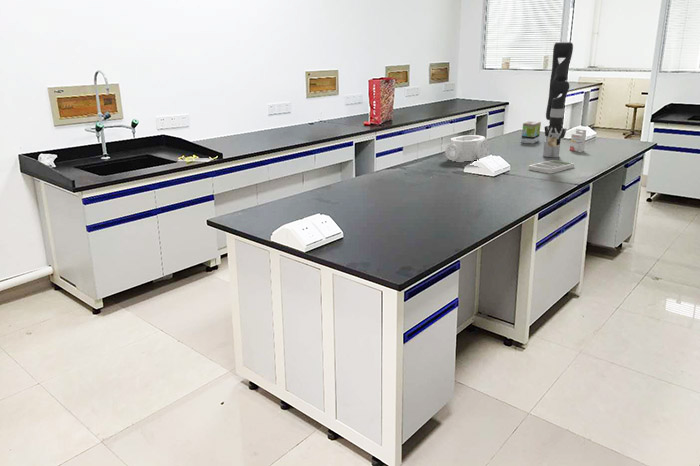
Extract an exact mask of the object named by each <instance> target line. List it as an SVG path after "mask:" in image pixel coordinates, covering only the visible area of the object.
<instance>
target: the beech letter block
mask: <svg viewBox="0 0 700 466" xmlns="http://www.w3.org/2000/svg"><path fill="white" fill-rule="evenodd" d="M556 144H557V137H549V138H548V146H551V147H557V146H560V147H561V143H560V144H559V145H556Z"/></svg>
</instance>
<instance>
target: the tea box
mask: <svg viewBox="0 0 700 466" xmlns="http://www.w3.org/2000/svg"><path fill="white" fill-rule="evenodd" d="M541 126H542V123H541V122H540V121H526V122H523V124H522V132H521V138H520V139H521V140H520V143H521V144H522V143H524V144H535V143H536V142H537V143H538V142H539V140H540V134H541Z"/></svg>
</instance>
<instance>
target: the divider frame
mask: <svg viewBox="0 0 700 466" xmlns="http://www.w3.org/2000/svg"><path fill="white" fill-rule="evenodd" d="M575 165H576V164H575V163H574V162H569V161H563V160H555V159H550V160H547V161H543V162H538V163H534V164H530V165H528V170H529V171H533V172H534V171H535V172H538V171H539V173H545V174H549V175H550V174H555V173H558V172H562V171H565V170H569V169H573V168H575Z"/></svg>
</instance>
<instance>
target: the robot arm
mask: <svg viewBox="0 0 700 466" xmlns="http://www.w3.org/2000/svg"><path fill="white" fill-rule="evenodd" d="M573 49H574V44H573V42H570V41H557V42H555V43H554V45H553V51H552V63H551V64H552V67H551V75H550V81H549V88H548V89H549V91H548V92H549V93H548V98H547V99H548V100H547V105H546V110H545V111H546V112H545V119H546V120H547V121H549V122H548V123H549V125H547V126H545V125H544V136H545V141H544V144H543V153H542V155H543V157H546V158H558V157H559V156H560V149H561V140H562V139H564V138H565V136H566V134H567V133H566V132H567V130H568V129H567V128H565V127H564V126H563V123H564V114H565V102H566V98H567V96H568V95H567V94H568V92H569V90H570V83H569V81H567V80H568V71H569V66H570V64H571V61H572V57H573V51H574V50H573ZM559 59H563V60H562V61H559ZM549 137H557V144H556V145H559V144H560V146H557V147H551V146H548V138H549Z"/></svg>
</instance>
